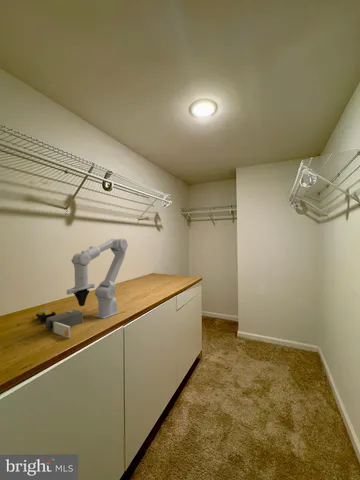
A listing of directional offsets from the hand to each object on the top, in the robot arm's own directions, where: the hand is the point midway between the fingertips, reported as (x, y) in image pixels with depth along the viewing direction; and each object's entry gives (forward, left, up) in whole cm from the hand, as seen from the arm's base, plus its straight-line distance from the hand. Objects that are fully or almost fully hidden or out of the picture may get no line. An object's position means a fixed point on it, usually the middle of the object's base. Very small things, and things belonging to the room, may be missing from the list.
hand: (81, 305), depth 98 cm
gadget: (+6, -23, -10) cm, 26 cm away
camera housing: (+5, -7, -9) cm, 13 cm away
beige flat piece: (+12, +3, -9) cm, 15 cm away
